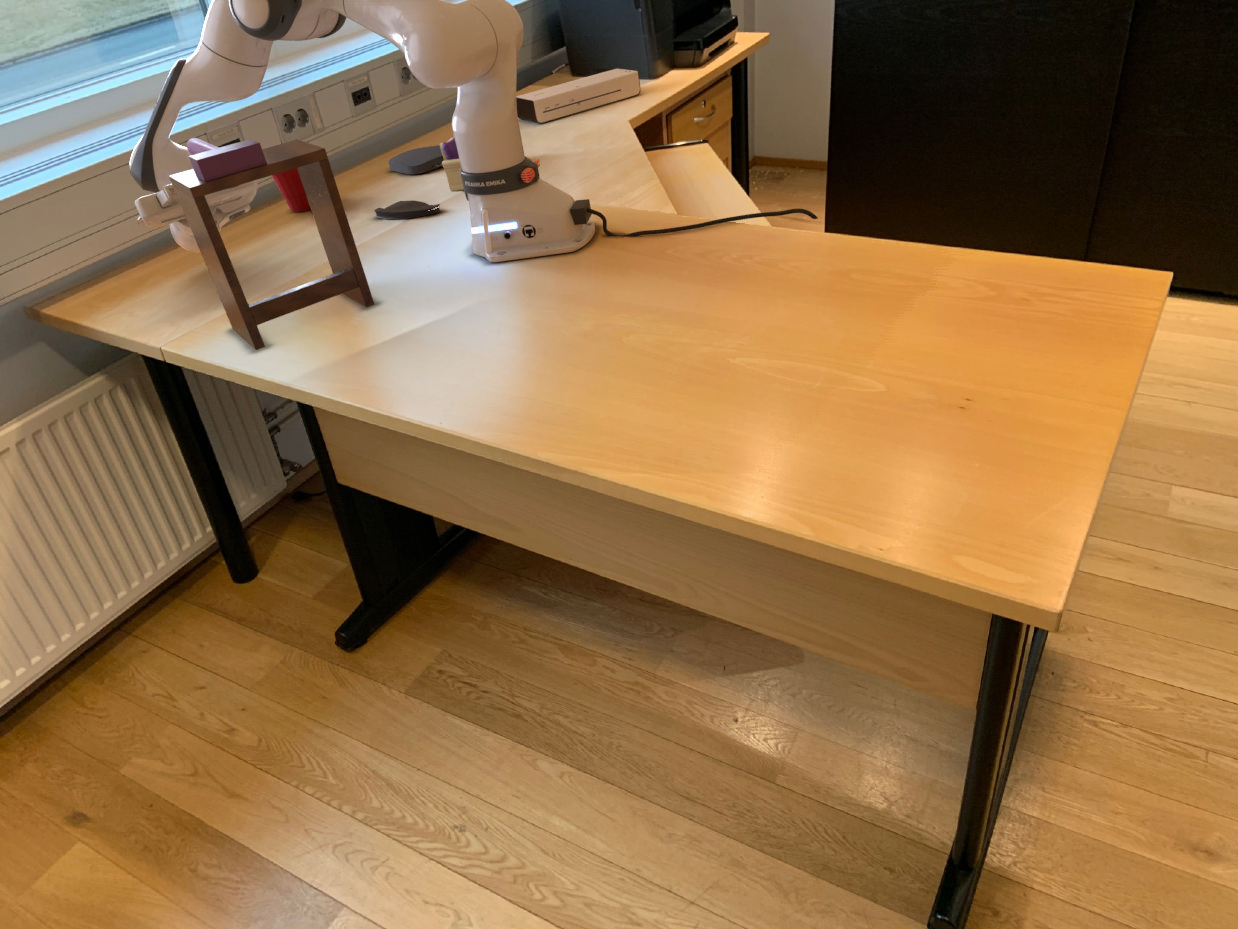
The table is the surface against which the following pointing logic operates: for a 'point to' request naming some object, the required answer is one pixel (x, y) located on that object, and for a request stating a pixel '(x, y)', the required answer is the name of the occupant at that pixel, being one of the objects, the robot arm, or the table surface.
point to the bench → (327, 219)
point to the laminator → (578, 95)
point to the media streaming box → (417, 160)
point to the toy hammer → (224, 158)
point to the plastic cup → (292, 190)
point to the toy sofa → (452, 164)
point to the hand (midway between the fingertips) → (199, 180)
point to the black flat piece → (406, 210)
